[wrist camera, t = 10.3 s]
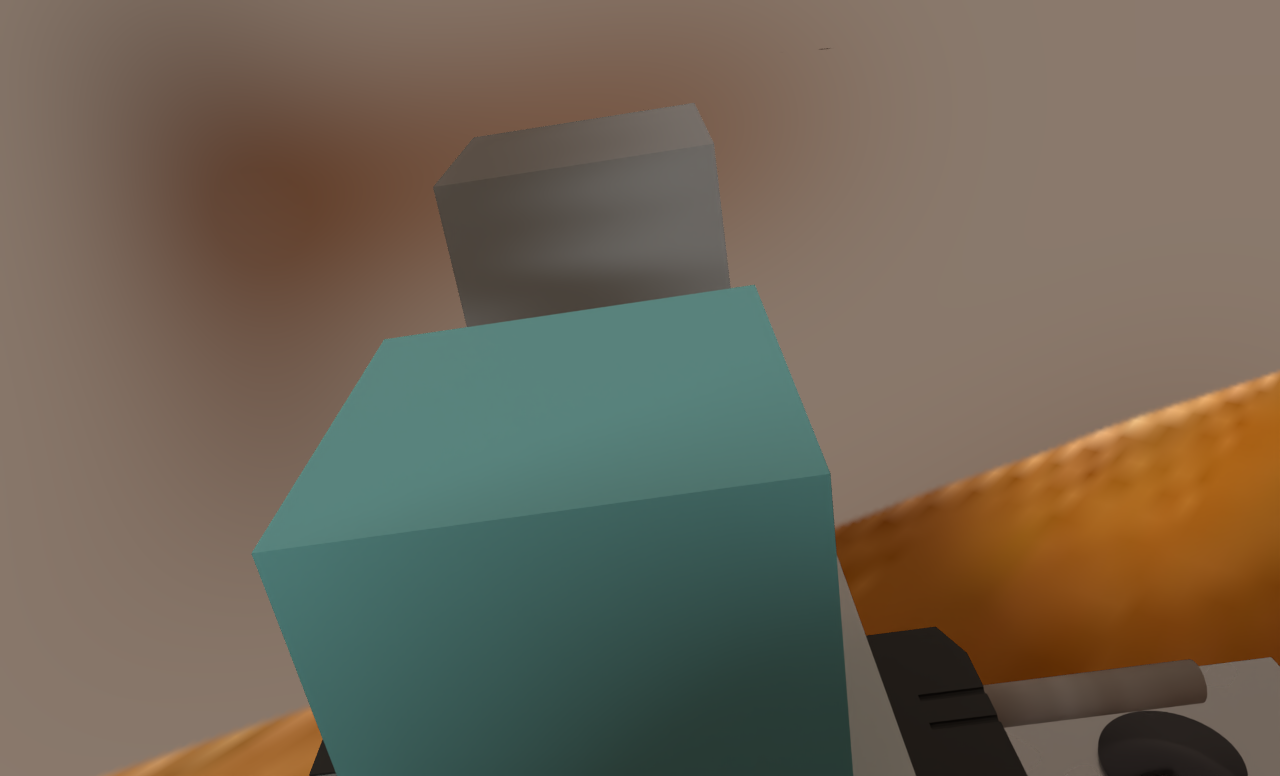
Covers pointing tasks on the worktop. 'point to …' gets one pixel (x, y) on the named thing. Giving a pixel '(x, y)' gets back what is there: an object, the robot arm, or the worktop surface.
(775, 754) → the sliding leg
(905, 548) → the worktop surface
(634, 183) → the grey l-shaped piece
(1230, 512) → the worktop surface
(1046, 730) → the plate
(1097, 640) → the worktop surface
